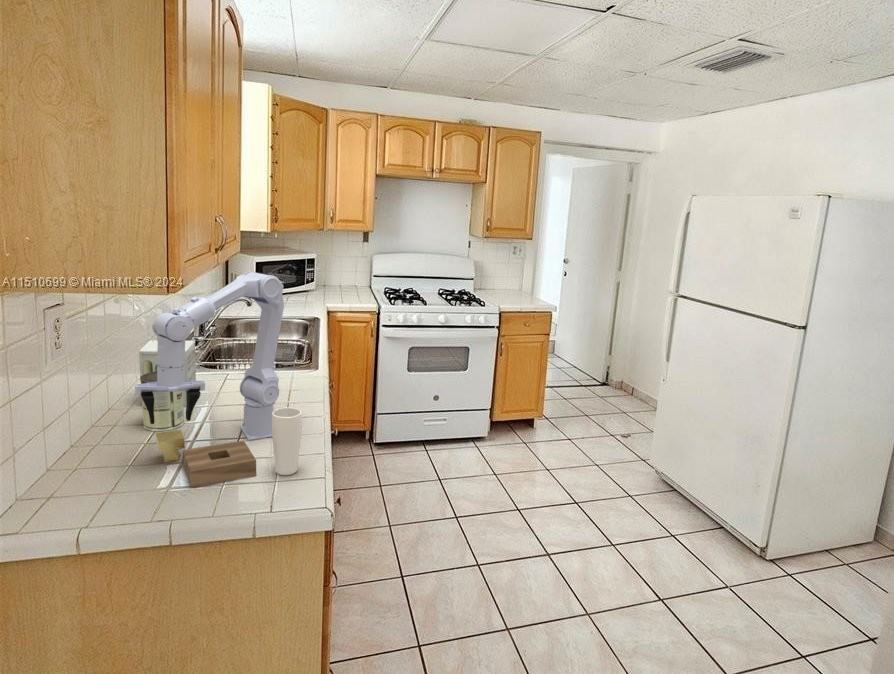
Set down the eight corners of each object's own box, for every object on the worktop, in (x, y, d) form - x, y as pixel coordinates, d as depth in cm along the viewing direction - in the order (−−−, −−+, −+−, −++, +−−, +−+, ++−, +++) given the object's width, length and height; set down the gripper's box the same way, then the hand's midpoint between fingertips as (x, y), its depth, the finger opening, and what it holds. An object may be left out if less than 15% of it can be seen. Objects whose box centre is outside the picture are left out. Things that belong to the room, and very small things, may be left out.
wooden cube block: (156, 456, 138) (155, 433, 137) (181, 452, 141) (180, 429, 140) (159, 465, 134) (158, 442, 132) (185, 461, 137) (184, 438, 135)
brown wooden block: (183, 465, 134) (182, 450, 133) (243, 455, 142) (243, 440, 141) (191, 488, 125) (190, 471, 124) (256, 475, 132) (256, 459, 131)
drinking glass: (271, 478, 131) (271, 418, 128) (271, 465, 138) (271, 407, 134) (301, 476, 133) (302, 417, 130) (300, 463, 139) (301, 406, 136)
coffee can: (145, 418, 159) (142, 371, 156) (185, 416, 163) (183, 369, 160) (140, 433, 150) (137, 382, 147) (183, 430, 154) (181, 380, 151)
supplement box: (140, 407, 167) (137, 350, 163) (152, 392, 180) (149, 339, 176) (189, 406, 170) (187, 350, 166) (197, 392, 183) (195, 340, 179)
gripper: (137, 371, 123) (137, 429, 126) (208, 368, 131) (206, 423, 134) (134, 363, 129) (134, 419, 132) (202, 360, 137) (201, 413, 140)
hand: (170, 420), depth 133 cm, fingers open, 7 cm apart
